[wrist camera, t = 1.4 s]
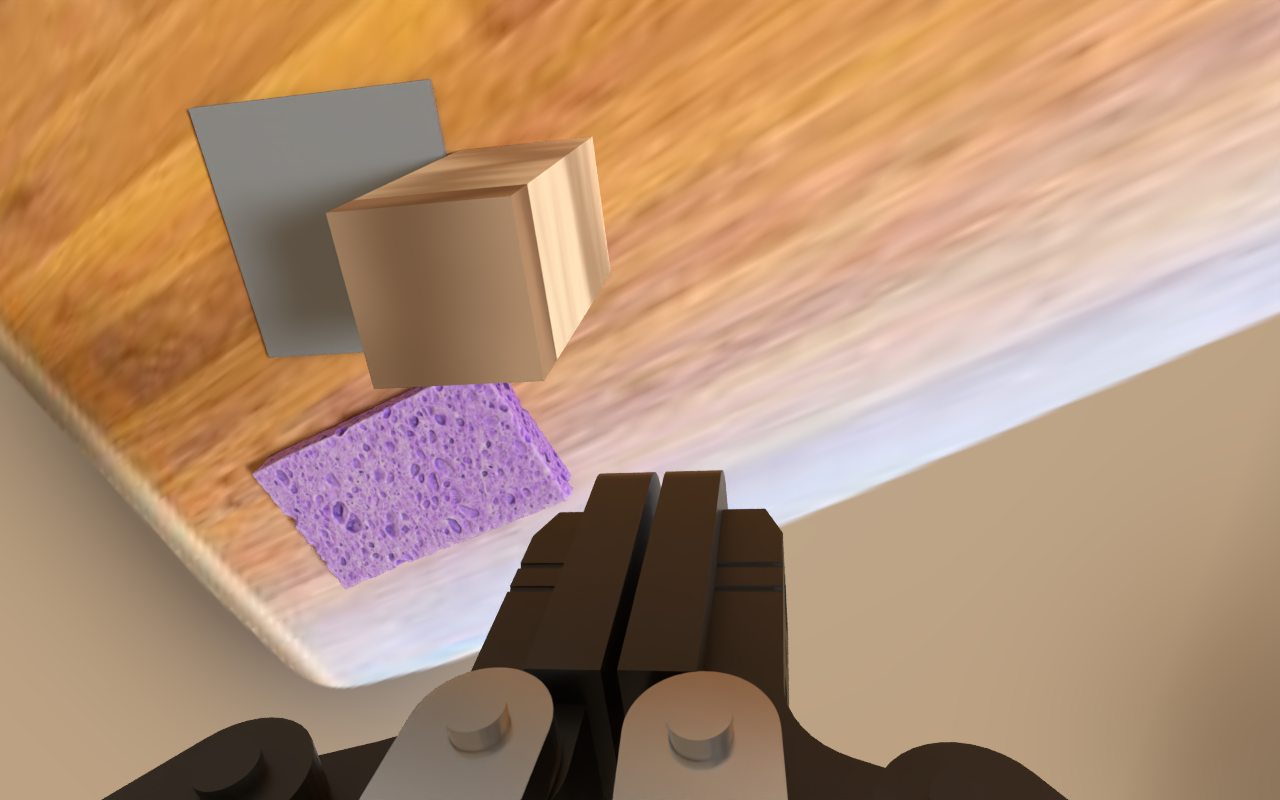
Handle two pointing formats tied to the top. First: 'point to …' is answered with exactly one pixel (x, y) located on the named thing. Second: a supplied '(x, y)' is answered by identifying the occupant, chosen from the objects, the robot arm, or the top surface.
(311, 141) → the mat
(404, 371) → the birch block
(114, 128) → the top surface
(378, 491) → the sponges
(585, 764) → the robot arm
